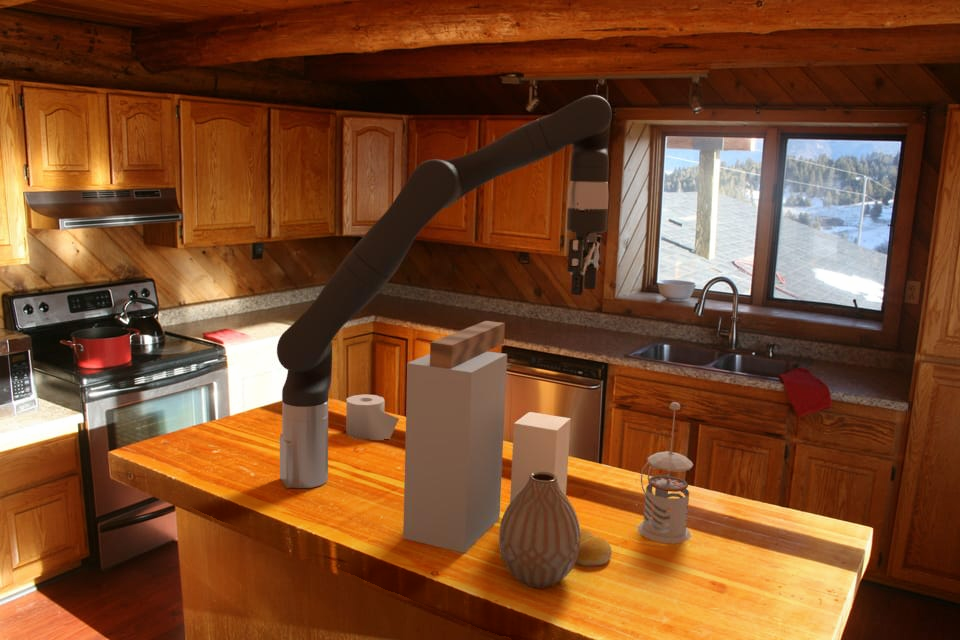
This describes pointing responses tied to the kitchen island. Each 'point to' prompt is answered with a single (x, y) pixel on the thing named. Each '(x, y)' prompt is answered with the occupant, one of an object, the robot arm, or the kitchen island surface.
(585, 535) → the bread roll
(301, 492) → the kitchen island surface
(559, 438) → the post
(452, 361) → the walnut bar
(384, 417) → the toilet tissue
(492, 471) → the tall white pillar
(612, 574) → the kitchen island surface
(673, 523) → the french press
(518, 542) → the vase
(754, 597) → the kitchen island surface
